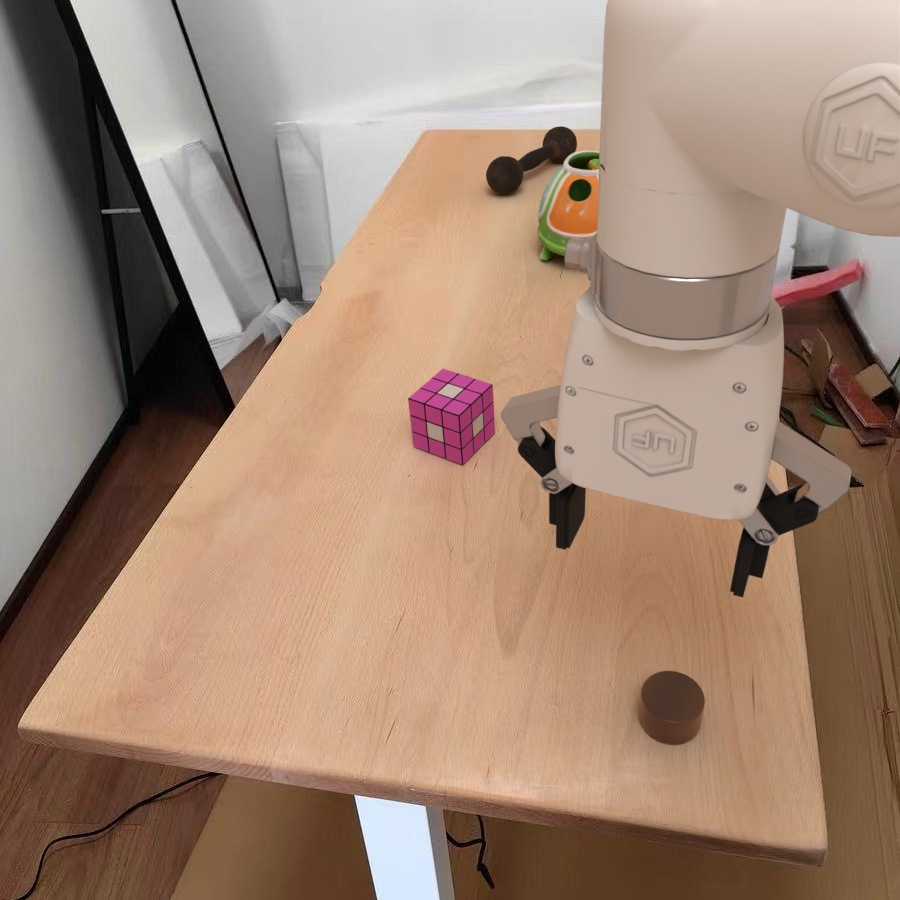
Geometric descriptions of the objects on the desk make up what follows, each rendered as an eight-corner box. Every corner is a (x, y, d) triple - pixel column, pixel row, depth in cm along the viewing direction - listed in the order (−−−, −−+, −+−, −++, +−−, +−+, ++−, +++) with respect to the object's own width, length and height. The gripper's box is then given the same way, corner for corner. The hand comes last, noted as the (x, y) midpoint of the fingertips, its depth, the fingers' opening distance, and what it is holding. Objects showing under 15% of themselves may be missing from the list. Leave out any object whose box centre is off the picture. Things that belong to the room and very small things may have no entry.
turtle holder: (650, 219, 118) (657, 130, 111) (622, 279, 105) (628, 184, 98) (562, 211, 122) (563, 125, 114) (524, 269, 109) (523, 176, 101)
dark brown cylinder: (709, 709, 58) (713, 686, 56) (687, 755, 55) (691, 733, 54) (652, 683, 60) (655, 661, 58) (629, 727, 57) (631, 705, 55)
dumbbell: (555, 154, 140) (553, 120, 137) (584, 158, 137) (582, 123, 134) (480, 197, 128) (476, 161, 125) (510, 201, 125) (506, 164, 122)
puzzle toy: (412, 447, 82) (407, 398, 78) (446, 415, 86) (442, 367, 82) (462, 465, 79) (459, 416, 76) (495, 433, 83) (493, 383, 79)
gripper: (466, 289, 38) (484, 560, 49) (893, 356, 32) (807, 651, 42) (527, 220, 43) (531, 479, 54) (904, 266, 37) (825, 549, 48)
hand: (652, 554), depth 48 cm, fingers open, 9 cm apart
